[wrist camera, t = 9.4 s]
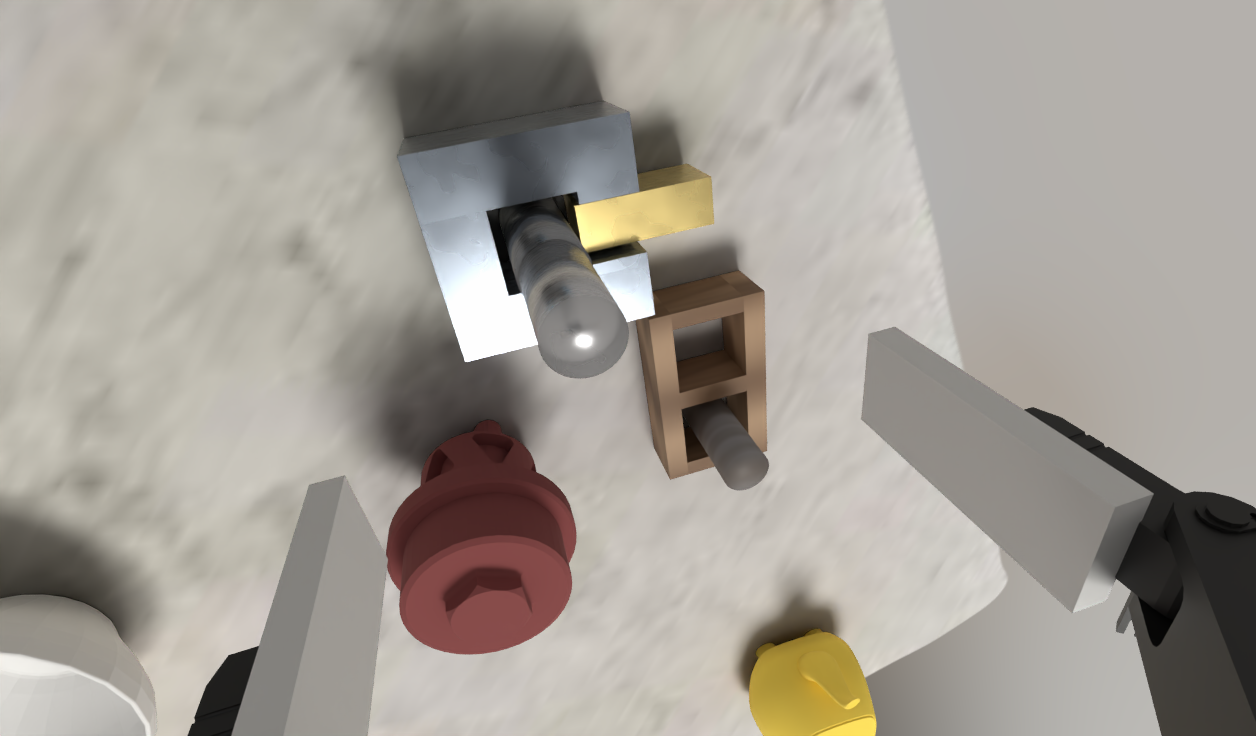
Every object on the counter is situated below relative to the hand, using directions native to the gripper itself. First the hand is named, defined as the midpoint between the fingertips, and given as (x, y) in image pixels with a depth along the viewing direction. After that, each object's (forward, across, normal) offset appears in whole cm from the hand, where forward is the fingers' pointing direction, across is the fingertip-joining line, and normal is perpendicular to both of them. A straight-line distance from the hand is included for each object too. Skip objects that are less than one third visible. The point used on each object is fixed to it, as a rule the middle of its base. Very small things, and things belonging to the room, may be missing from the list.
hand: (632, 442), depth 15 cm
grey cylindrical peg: (+20, 0, 0) cm, 21 cm away
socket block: (+20, 0, 0) cm, 21 cm away
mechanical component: (+21, -7, -14) cm, 26 cm away
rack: (+21, +8, -12) cm, 25 cm away
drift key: (+20, +5, 0) cm, 21 cm away
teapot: (+21, +16, -49) cm, 56 cm away
